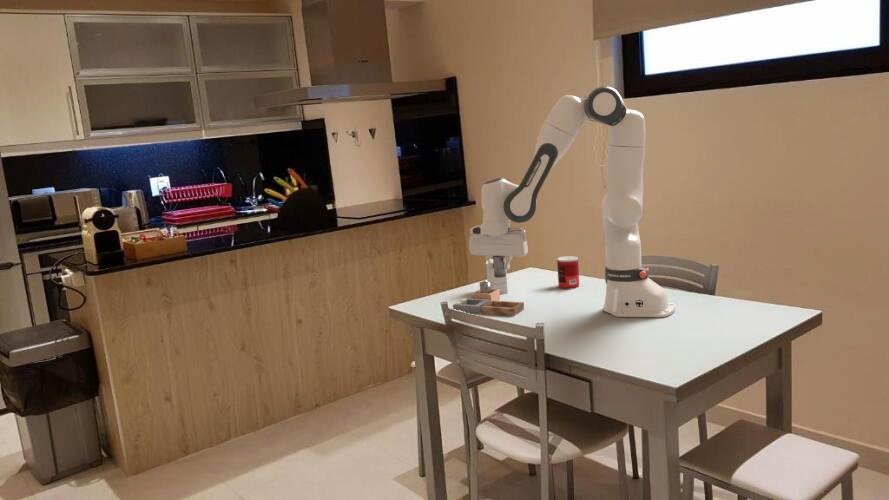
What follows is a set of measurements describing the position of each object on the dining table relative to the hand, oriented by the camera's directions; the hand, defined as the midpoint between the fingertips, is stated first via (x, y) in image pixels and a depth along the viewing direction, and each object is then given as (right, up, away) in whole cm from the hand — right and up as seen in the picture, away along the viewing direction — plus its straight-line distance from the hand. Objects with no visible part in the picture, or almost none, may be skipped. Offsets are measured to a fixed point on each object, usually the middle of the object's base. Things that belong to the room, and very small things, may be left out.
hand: (499, 268), depth 229 cm
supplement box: (+2, -10, +30) cm, 31 cm away
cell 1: (-3, -12, +17) cm, 21 cm away
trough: (+1, -15, +3) cm, 16 cm away
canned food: (+29, -8, +30) cm, 42 cm away
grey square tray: (-9, -15, +9) cm, 20 cm away
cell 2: (0, -3, 0) cm, 3 cm away
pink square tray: (-3, -13, +17) cm, 21 cm away
